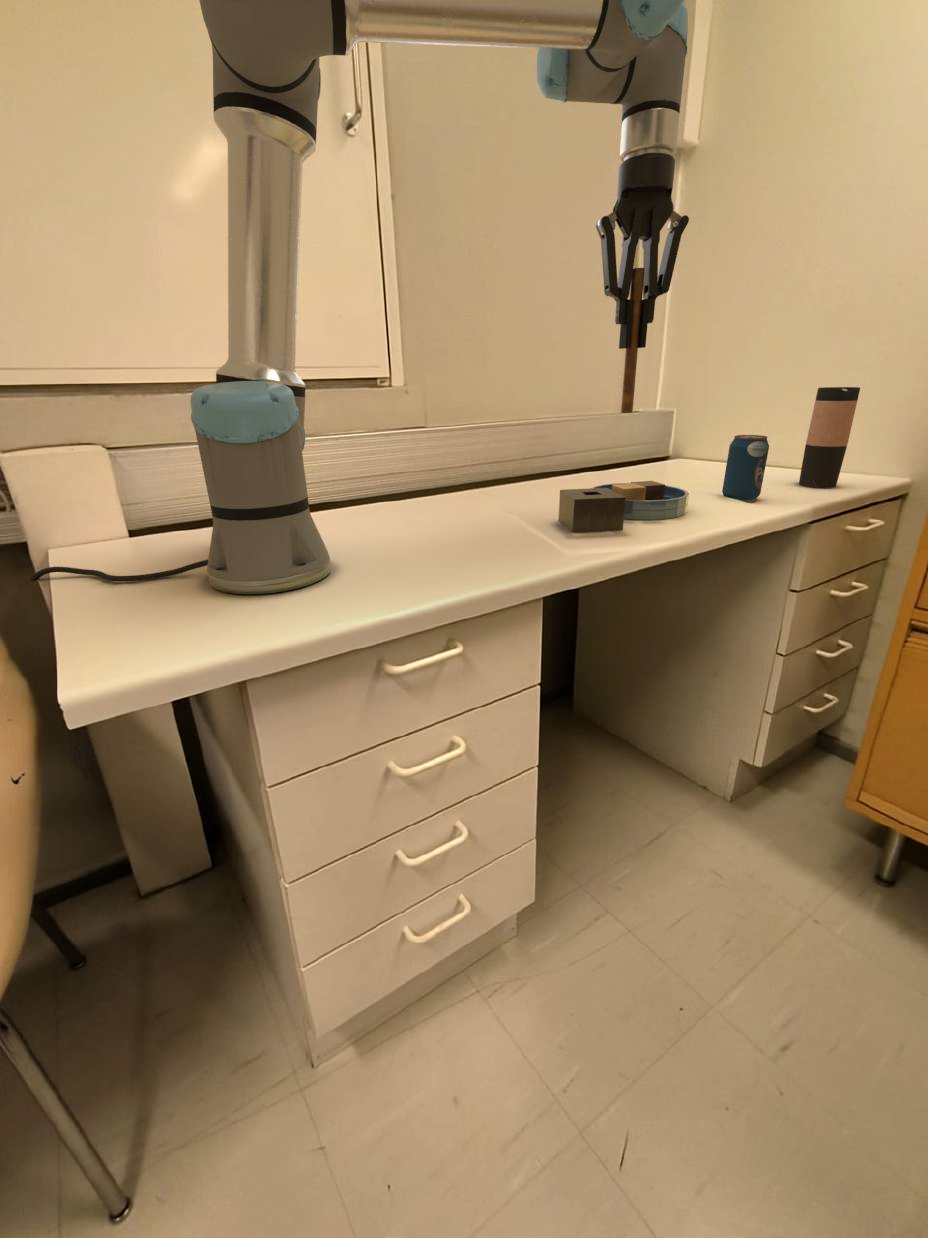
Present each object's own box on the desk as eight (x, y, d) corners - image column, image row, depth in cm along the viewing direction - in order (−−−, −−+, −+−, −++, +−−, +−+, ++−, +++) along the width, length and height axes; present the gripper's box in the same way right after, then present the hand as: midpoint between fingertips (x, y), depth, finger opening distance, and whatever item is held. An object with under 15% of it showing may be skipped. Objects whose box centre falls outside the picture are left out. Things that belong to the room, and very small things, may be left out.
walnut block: (640, 510, 101) (643, 486, 99) (628, 505, 105) (630, 482, 103) (662, 509, 102) (665, 484, 100) (649, 504, 106) (652, 480, 104)
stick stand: (572, 537, 89) (574, 499, 86) (558, 525, 96) (559, 489, 94) (622, 535, 89) (626, 497, 87) (604, 522, 97) (607, 487, 94)
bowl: (606, 526, 94) (608, 502, 93) (575, 505, 110) (577, 484, 108) (703, 522, 96) (707, 498, 94) (660, 501, 112) (662, 481, 110)
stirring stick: (623, 413, 90) (634, 267, 82) (619, 412, 92) (630, 269, 84) (634, 412, 90) (646, 267, 82) (630, 411, 92) (641, 269, 84)
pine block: (621, 513, 99) (623, 488, 98) (609, 508, 103) (611, 484, 101) (643, 512, 100) (646, 487, 98) (631, 507, 104) (633, 483, 102)
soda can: (761, 503, 109) (774, 438, 104) (722, 501, 111) (733, 437, 106) (756, 496, 115) (767, 434, 110) (719, 494, 117) (729, 434, 112)
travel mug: (805, 481, 129) (826, 386, 121) (842, 485, 124) (866, 386, 116) (791, 485, 125) (811, 387, 117) (829, 489, 119) (853, 387, 111)
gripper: (685, 168, 82) (667, 347, 91) (586, 168, 81) (578, 350, 90) (711, 149, 75) (689, 345, 85) (604, 149, 74) (593, 348, 83)
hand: (632, 347), depth 87 cm, fingers closed on stirring stick, 2 cm apart
